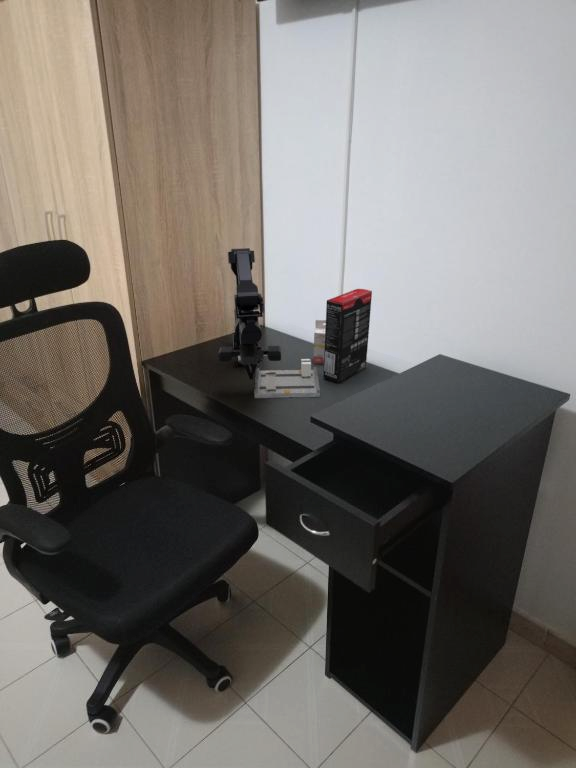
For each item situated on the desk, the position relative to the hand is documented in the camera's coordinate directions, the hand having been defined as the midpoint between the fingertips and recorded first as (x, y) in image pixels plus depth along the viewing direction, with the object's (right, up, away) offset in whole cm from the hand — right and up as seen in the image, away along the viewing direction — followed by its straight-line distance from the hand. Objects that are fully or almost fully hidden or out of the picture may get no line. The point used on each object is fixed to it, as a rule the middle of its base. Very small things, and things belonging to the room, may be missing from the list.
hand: (251, 379), depth 169 cm
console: (+11, -2, +6) cm, 13 cm away
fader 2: (+17, +2, +9) cm, 20 cm away
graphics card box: (+31, +2, +14) cm, 34 cm away
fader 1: (+6, -2, +1) cm, 7 cm away
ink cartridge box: (+25, +6, +23) cm, 34 cm away
